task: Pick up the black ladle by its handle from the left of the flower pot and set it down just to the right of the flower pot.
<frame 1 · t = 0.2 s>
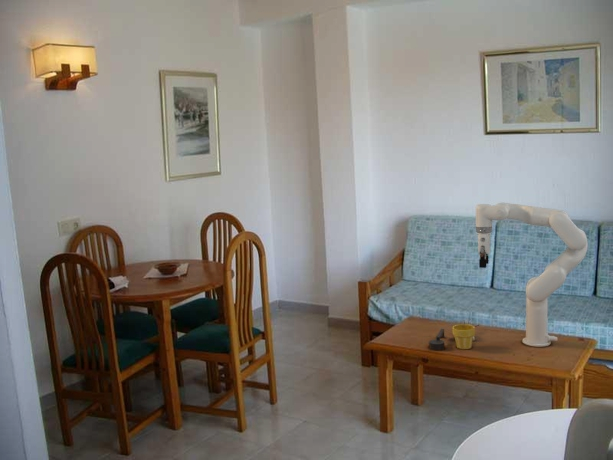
hand: (483, 265, 317), 37 cm above the table, tool pointing down, fingers open, 9 cm apart
flower pot: (463, 347, 312), on the table
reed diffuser: (469, 335, 330), on the table
ladle: (436, 348, 312), on the table
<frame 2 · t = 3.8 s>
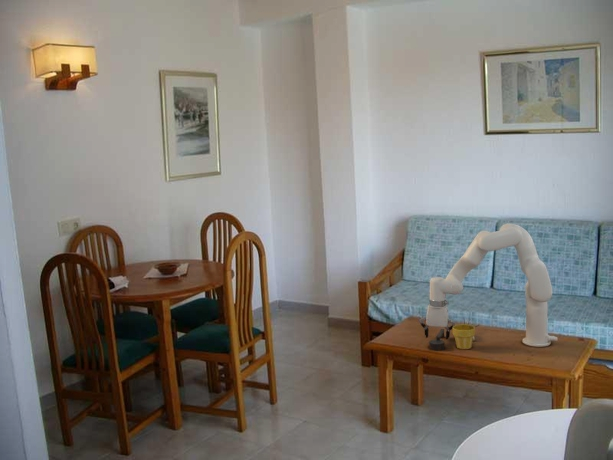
hand: (437, 337, 318), 3 cm above the table, tool pointing down, fingers open, 9 cm apart
nothing on the table moved.
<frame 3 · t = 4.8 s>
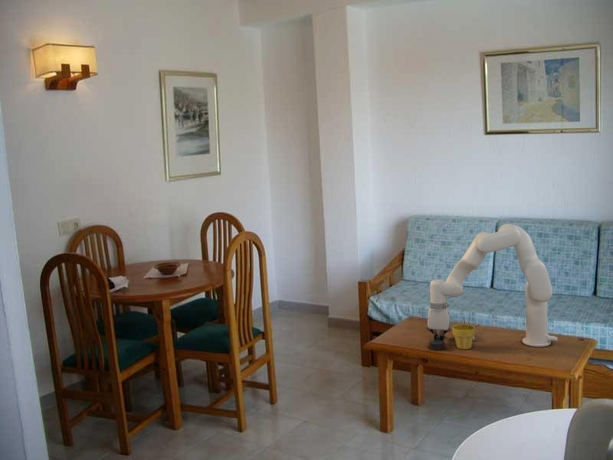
hand: (438, 342, 318), 1 cm above the table, tool pointing down, fingers closed on ladle
ladle: (436, 348, 312), on the table, touching gripper
everything else where it was.
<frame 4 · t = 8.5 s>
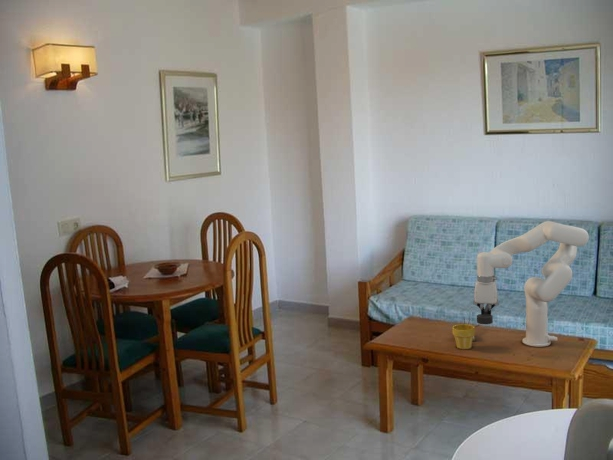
hand: (486, 317, 308), 14 cm above the table, tool pointing down, fingers closed on ladle
ladle: (484, 322, 303), point 14 cm above the table, touching gripper
everything else where it was.
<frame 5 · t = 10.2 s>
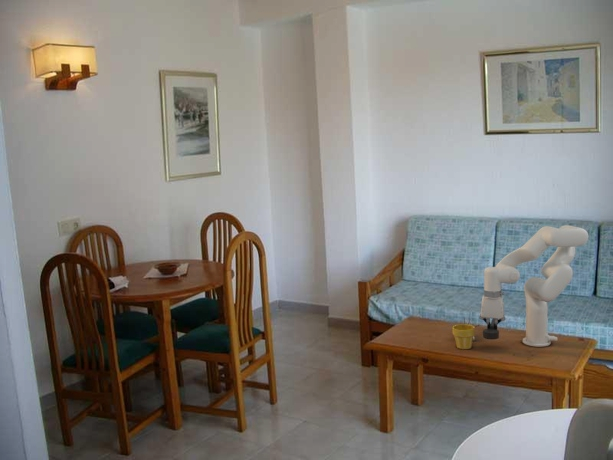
hand: (492, 332, 308), 8 cm above the table, tool pointing down, fingers closed on ladle
ladle: (490, 337, 303), point 7 cm above the table, touching gripper
everything else where it was.
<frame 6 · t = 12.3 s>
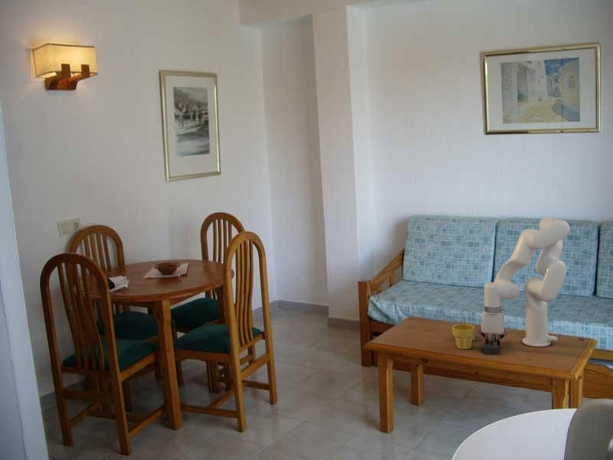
hand: (492, 347, 309), 0 cm above the table, tool pointing down, fingers open, 3 cm apart
ladle: (491, 352, 304), on the table
everything else where it was.
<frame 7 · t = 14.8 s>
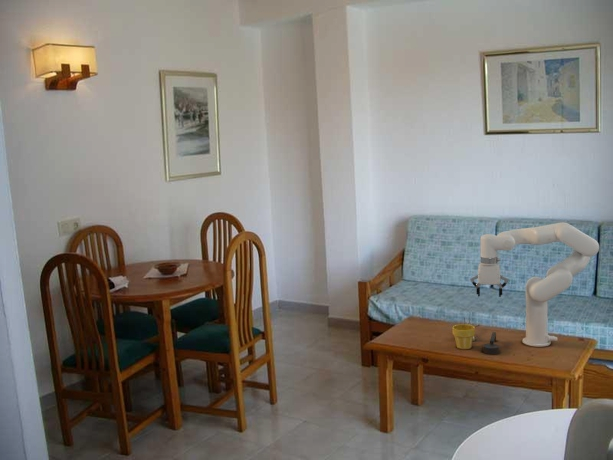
hand: (489, 296, 314), 23 cm above the table, tool pointing down, fingers open, 9 cm apart
nothing on the table moved.
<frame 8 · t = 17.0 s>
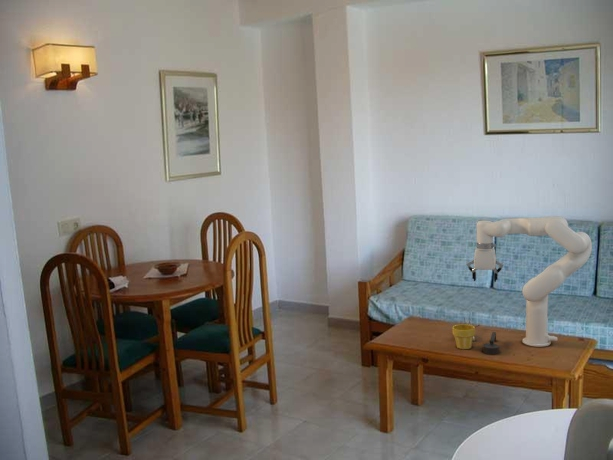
hand: (484, 280, 322), 28 cm above the table, tool pointing down, fingers open, 9 cm apart
nothing on the table moved.
at the end: ladle inside the target area on the table beside the flower pot (1.7 cm from its centre), on the table; ladle tilted 0°; flower pot moved 0.2 cm from its start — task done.
